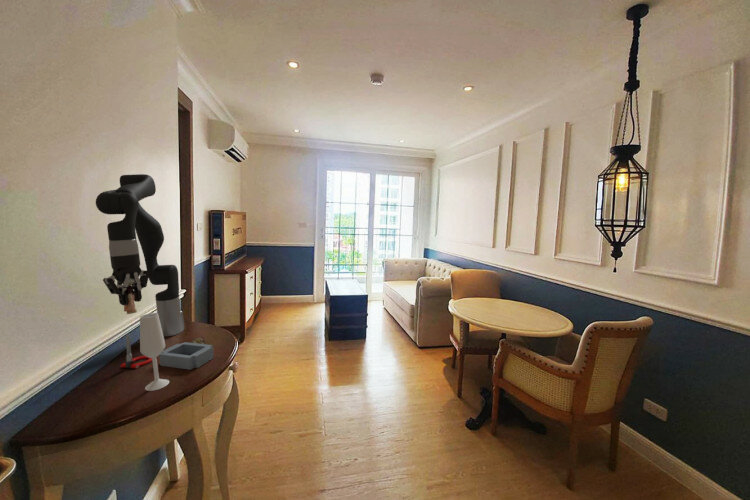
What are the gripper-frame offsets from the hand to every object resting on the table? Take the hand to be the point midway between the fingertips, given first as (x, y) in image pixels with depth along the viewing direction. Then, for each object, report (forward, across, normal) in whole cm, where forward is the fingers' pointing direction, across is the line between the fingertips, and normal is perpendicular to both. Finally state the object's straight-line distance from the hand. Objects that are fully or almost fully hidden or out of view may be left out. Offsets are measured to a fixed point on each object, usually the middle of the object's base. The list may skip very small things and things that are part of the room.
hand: (131, 302), depth 103 cm
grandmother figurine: (+3, 0, 0) cm, 4 cm away
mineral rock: (+28, -23, -1) cm, 36 cm away
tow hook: (+27, -8, -11) cm, 30 cm away
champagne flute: (+27, +3, +11) cm, 29 cm away
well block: (+27, -13, +7) cm, 31 cm away
